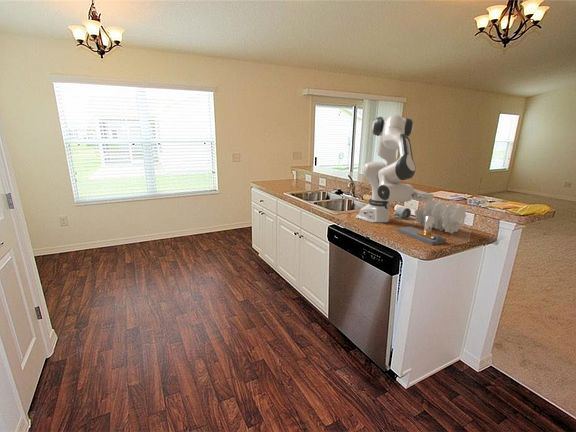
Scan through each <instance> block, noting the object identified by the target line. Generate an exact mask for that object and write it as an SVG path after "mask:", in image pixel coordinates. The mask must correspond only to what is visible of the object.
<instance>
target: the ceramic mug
mask: <svg viewBox="0 0 576 432" xmlns="http://www.w3.org/2000/svg"><path fill="white" fill-rule="evenodd" d="M411 214H412V211H411V209H410V208H408V207H403V206H398V207H397V208H396V209H395V212H394V214H393V215H392V216H393V218H394V219H395V220H398V219H403V220H407V219H409V218H410V217H411V216H412V215H411Z"/></svg>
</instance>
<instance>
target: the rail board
mask: <svg viewBox="0 0 576 432" xmlns="http://www.w3.org/2000/svg"><path fill="white" fill-rule="evenodd" d="M419 231H423V230H421V229H419V228H416V227H414V226H411V225H410V226H404V227H403V226H402V227H398V228H397V229H396V232H397V233H400V234H403V235H405V236H407V237H410V238H413V239H414V240H415V239H416V240H418V241H420V242H422V243H425V244H428V245H430V246H435V245H440V244H445V243H446V241H447V239H446V238H444V237H441V240H438V241H437V240H436V238H435V239H431V238H428V237H425V236H423V235H420V234H417V232H419Z"/></svg>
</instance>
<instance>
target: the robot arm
mask: <svg viewBox="0 0 576 432" xmlns="http://www.w3.org/2000/svg"><path fill="white" fill-rule="evenodd" d="M413 130H414V122H413V120H412V119H411V118H409V117H402V116H401V115H397V114H393V115H390V116H378V117H376V118H374V120H373V122H372V124H371V131H372V134H373V135H374V136H377V137H379V139H378V144H377V145H378V146H377V150H376V153H377V156H379V158H381V159H383V160H384V161H371V162H370V161H369V162H366V163H365V164H364V165H363V167H362V174H363V177H364V178H366V180H368V182H369V183H370V185H371V198H370V199H367V202H368V204H366V205H365V206H363V207H361V208H360V210H359V214H356V215H355V218H356V219H358V218H359V220H361V219H362V220H361V221H365V222H369V223H388V222H390V221H391V220H390V217H389V215H390V214H389V209H390V202H391V203H395V202H399V203H405V202H406V203H407V202H410V201H412V199H414V200H417V201H423V202H429V201H432V200H434V194H433V193H430V192H427V191H423V190H418V189H415V188H414V187H413V186H412V185H411V184H409V183H401V182H403V181H406V180H410V179H412V178H413V177H414V175H416V174H415V173H416V169H417V168H416V163H415V161H414V157H413V150H412V143H411V139H410V138H409V136H411V134H412V133H413ZM397 150H399V158H398V159H397V155H396V154H397Z"/></svg>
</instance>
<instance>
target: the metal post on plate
mask: <svg viewBox="0 0 576 432" xmlns="http://www.w3.org/2000/svg"><path fill="white" fill-rule="evenodd" d="M433 218H434V217H433V216H426V217H425V224H424V226H423V230H422V231H419V232H417V234H420V235H423V236H425V237H428V238H431V239H435V238H436V237H434V236H433V235H435V233H434V234H433V232H432V231H433V227H432V226H433Z"/></svg>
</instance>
